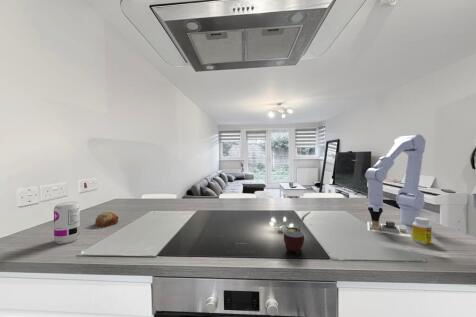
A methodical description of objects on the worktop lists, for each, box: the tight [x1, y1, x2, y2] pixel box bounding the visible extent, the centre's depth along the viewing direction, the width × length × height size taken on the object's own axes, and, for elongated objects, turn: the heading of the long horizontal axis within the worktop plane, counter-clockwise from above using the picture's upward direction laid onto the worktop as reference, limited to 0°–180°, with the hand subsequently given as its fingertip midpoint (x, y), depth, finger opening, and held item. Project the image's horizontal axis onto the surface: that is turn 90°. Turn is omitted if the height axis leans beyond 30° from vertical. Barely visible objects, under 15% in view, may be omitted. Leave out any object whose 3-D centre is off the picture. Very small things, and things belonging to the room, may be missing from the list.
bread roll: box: [94, 211, 119, 228], centre depth 106 cm, size 10×10×8 cm
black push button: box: [385, 220, 396, 228], centre depth 92 cm, size 3×3×2 cm
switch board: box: [366, 221, 412, 238], centre depth 95 cm, size 14×15×3 cm
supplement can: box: [53, 201, 81, 245], centre depth 86 cm, size 8×8×15 cm
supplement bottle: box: [411, 216, 432, 245], centre depth 81 cm, size 6×6×10 cm
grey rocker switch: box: [398, 223, 408, 232], centre depth 91 cm, size 4×2×1 cm, turn 149°
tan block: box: [371, 220, 380, 230], centre depth 94 cm, size 3×2×3 cm
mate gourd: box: [283, 211, 311, 257], centre depth 75 cm, size 8×8×15 cm
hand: (375, 223), depth 97 cm, fingers closed
